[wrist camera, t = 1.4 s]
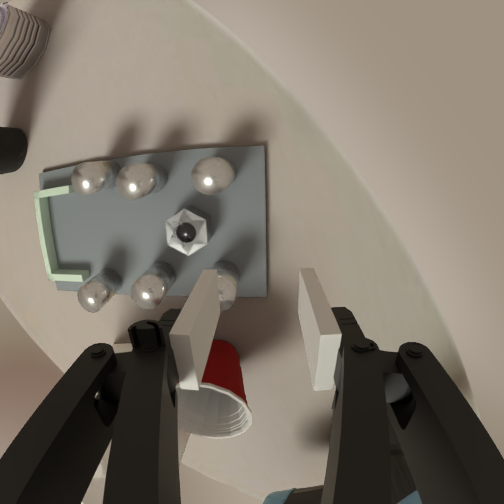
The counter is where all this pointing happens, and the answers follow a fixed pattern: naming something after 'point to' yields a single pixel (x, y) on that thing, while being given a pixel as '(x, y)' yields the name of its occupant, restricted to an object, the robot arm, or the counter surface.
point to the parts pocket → (47, 237)
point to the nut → (189, 230)
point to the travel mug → (12, 149)
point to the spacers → (137, 186)
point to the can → (20, 41)
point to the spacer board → (164, 223)
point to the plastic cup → (216, 397)
